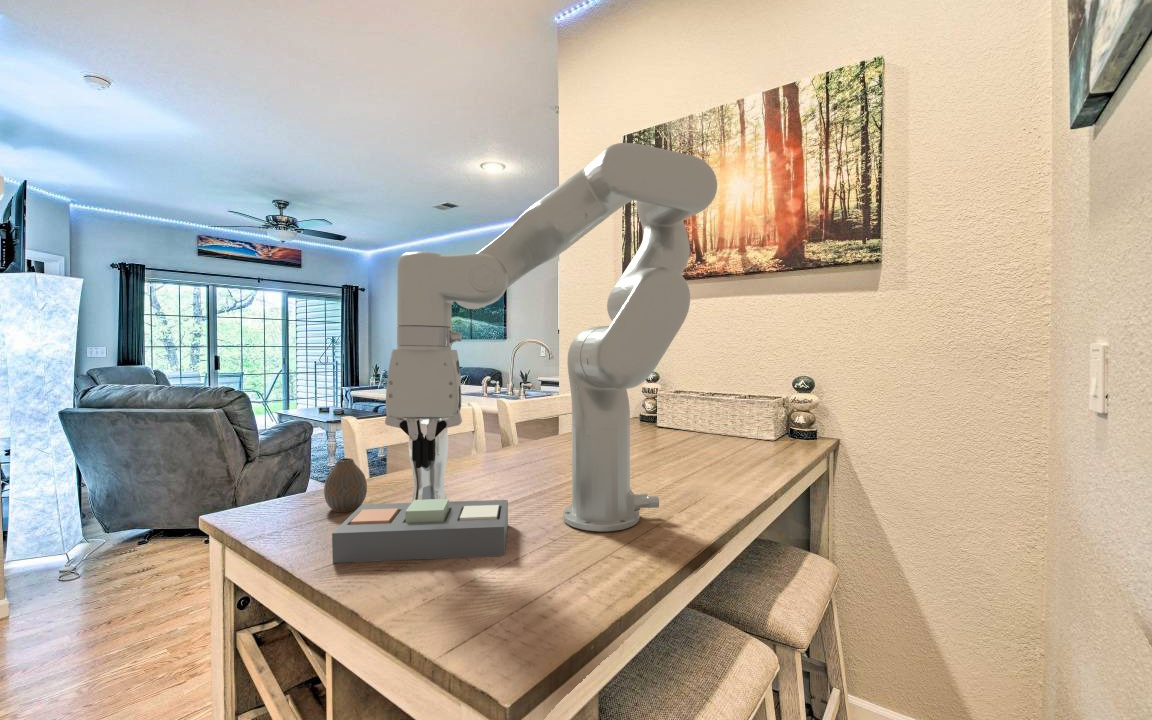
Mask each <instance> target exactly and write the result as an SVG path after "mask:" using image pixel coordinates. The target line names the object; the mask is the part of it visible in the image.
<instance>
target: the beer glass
mask: <svg viewBox="0 0 1152 720" xmlns="http://www.w3.org/2000/svg"><path fill="white" fill-rule="evenodd" d="M441 420H444V419H440V421H441ZM428 422H429V419H420V424H421V430H422V433H423V437H424V438H425V435H426V434H427V428H428ZM448 454H449V432H448V428H445V429H444V430H443V431H442V432H440V433H439V434H438V435H437V436H436V437H435V460H434V461H431V465H430V466H429V467H428V468H424V467H421V468H416V461H412V440H411V439H410V438H409V437H408V455H409V461H410V466H411V471H412V472H411V473H412V477H413V492H412V499H411V503H412V502H413V500H427V499H448V498H447V494H446V488H445V476H446V475H445V474H446V468H447V462H448Z"/></svg>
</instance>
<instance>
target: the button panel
mask: <svg viewBox="0 0 1152 720" xmlns="http://www.w3.org/2000/svg"><path fill="white" fill-rule="evenodd" d="M508 502H509V500H508V499H494V500H493V499H491V500H490V499H489V500H488V499H487V500H486V499H485V500H464V501H462V500H457V501H449V515H448V518H447V520H446V521H442V522H414V523H406V513H405V511H406V510H407V509H408V507H409V506H410V504H411V503H412V502H402V503H396V502H395V503H367V504H361V505H360V507H359V508H357V509H355V510H354V512H353V513H352V514H350V515H349V516H348V517H347V518H346V519H345V520H344V521H343V522H342V523H341V524H339V526H338V527H337V528H336V529H335V530H334V531H333V532H332V533H331V542H332V543H331V546H332V547H331V548H332V563H333V564H339V563H361V562H362V563H363V562H385V561H390V562H391V561H408V560H409V561H411V560H414V561H415V560H433V559H435V560H436V559H437V560H438V559H455V558H456V559H457V558H461V559H462V558H478V557H481V558H483V557H505V553H506V544H507V538H508V537H507V535H508V527H509V512H508V511H509V503H508ZM482 505H499V519H497V520H469V521H460V516H461V513H462V511H463V508H464V506H482ZM393 508H398V515H397V516H396V517H395V519H394V520H393V521H392V523H387V524H359V525H350V522H351V521H352V520H353V519H354V518H355V517H356V516H357V515H358V514H359V513H360V512H361V511H362V510H364V509H393Z"/></svg>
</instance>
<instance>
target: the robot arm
mask: <svg viewBox="0 0 1152 720" xmlns="http://www.w3.org/2000/svg"><path fill="white" fill-rule="evenodd" d="M717 180H718V179H717V176H716V174H715V171H714V170H713V168H712V167H711V166H710V165H709V164H708V163H707V162H706V161H705V160H704V159H701V158H699V157H697V156H695V155H691V154H689V153H688V154H687V153H684V152H678V151H673V150H669V149H665V148H659V147H654V146H650V145H646V144H640V143H632V142H631V143H630V142H620V143H619V142H618V143H614V144H611V145H610V146H608V147H607V148H606V149H604V150H602V152H601V153H600V154H598V155H597V156H596V157H595V158H594V159H593V160H592V161H591V162H589V163H588V164H587V165H584V167H583V168H581V169H580V170H578V171H577V172H576V173H575V174H574V175H572V176H571V177H570V178H568V179H566V180H565V181H564V182H562V184H560V185H558V186H557V187H556V188H554V189H553V190H552V191H550V192H549V193H548V194H546V195H544V196H543V197H542V198H540V199H539V200H537V201H536V202H534V203H533V204H532V205H531V206H530V207H528V208H527V209H526V210H525V211H524V212H523V213H522V214H521V215H520V216H519V217H518V218H517V219H516V220H515V221H514V222H513V223H512V224H511V225H510V226H509V227H507V229H506V230H505V231H503V232H502V233H501V234H500V235H499V236H498V237H496V238H495V239H494V240H492V241H491V242H490V243H488V245H486V246H484V247H483V248H482V249H481V250H479V251H478V252H476V253H464V254H463V253H462V254H441V253H436V252H429V251H409V252H405V253H403V254H401V255H400V256H399V258H398V261H397V273H396V274H397V278H396V279H397V284H396V285H397V288H396V289H397V291H396V292H397V295H396V296H397V300H396V301H397V303H396V304H397V306H396V307H397V309H396V310H397V311H396V312H397V315H396V317H397V318H396V319H397V321H396V322H397V325H396V326H397V327H396V341H397V342H396V345H397V346H396V348H392V351H391V354H390V360H389V365H388V370H387V371H388V372H387V381H386V388H385V389H386V391H385V392H386V393H385V411H386V417H385V420H384V423H385V425H386V426H390V427H394V428H397V429H398V428H399V429H401V431H403V432H404V433H405V434H406V435H407V436H408V439H409V438H410V439H411V440H412V461H416V468H421V467H424V468H428V467H429V466H430V465H431V461H434V460H435V437H436V436H437V435H438V434H439V433H440V432H442V431H443V430H444V429H445V428H447V429H450V428H453V427H457V426H460V425H461V424H462V423H463V419H462V414H461V409H462V383H461V382H462V381H461V370H460V369H461V366H460V360H459V355H458V350H457V349H452V346H453V345H454V343H456V342H457V343H458V342H462V332H460V331H459V332H458V331H454V330H453V328H452V313H453V312H452V310H453V309H452V304H453V302H456V304H457V305H459V306H460V307H462V308H465V309H468V310H479V309H482V308H485V307H488V306H489V305H492V304H494V303H496V302H498V301H499V300H500V299H501V298H502V297H503V295H504V294H505V292H506V291H507V288H509V287H511V285H513V284H514V283H516V282H517V281H519V280H520V279H521V278H523V277H524V276H526V275H527V274H528V273H530V272H532V271H533V270H535V269H536V268H538V267H539V266H541V265H543V264H546V263H547V262H550V261H551V260H553V259H555V258H556V257H558V256H559V255H561V254H562V253H563V252H565V251H566V250H568V249H569V248H570V247H572V246H573V245H574V244H576V243H577V242H578V241H579V240H581V239H582V238H584V237H585V236H586V235H588V233H590V232H591V231H592V230H594V229H595V228H596V227H597V226H599V225H600V224H601V223H603V222H604V221H605V220H606V219H608V218H609V217H610V216H611V215H613V214H614V213H615V212H617V211H618V210H620V208H622V207H624V206H626V205H627V204H629V203H631V202H633V201H636V211H637V216H638V219H639V221H640V225H641V229H642V241H641V243H640V246H639V248H638V249H637V251H636V252H635V255H634V256H633V258H632V260H631V261H630V262H629V264H628V265H627V267H626V268H625V270H624V271H623V273H622V275H620V278H619V279H618V280H617V282H616V283H615V285H614V286H613V288H612V289H611V291H610V293H609V295H608V297H607V303H606V310H607V314H608V316H609V319H610V320H611V323H610V324H609V325H601V326H592V327H589V328H586V329H584V330H582V331H581V332H579V333H578V334H577V335H576V336H575V337H574V339H572V341H571V344H570V346H569V348H568V353H567V358H566V359H567V362H566V363H567V373H568V374H567V375H568V380H569V381H568V382H569V387H570V398H571V483H572V484H571V492H572V493H571V504H570V505H567V506H566V507H565V508H564V509H563V511H562V520H563V521H564V523H565V524H567V525H569V526H570V527H572V528H575V529H578V530H582V531H589V532H597V533H598V532H599V533H600V532H604V533H605V532H615V531H622V530H627V529H629V528H631V527H633V526H635V525H637V524H638V522H639V521H640V511H641V509H643V508H644V509H646V508H648V509H659V508H660V498H659V496H658V495H648V493H636V494H635V493H634V492H633V491H632V489H631V460H630V459H631V457H630V456H631V443H630V442H631V427H630V426H631V411H630V410H631V409H630V408H631V407H630V400H629V394H628V390H629V389H634V388H635V387H638V386H640V385H641V384H643V383H644V382H646V380H648V378H649V377H650V376H651V374H652V373H653V372H654V371H655V369H656V368H657V366H659V365H658V364H659V363H660V362H661V360H662V358H663V357H664V355H665V354H666V352H667V350H668V349H669V347H670V346H671V344H672V342H673V341H674V339H675V337H676V335H678V333H679V331H680V330H681V327H682V326H683V324H684V323H685V320H686V318H687V316H688V314H689V311H690V305H691V293H690V291H691V290H690V286H689V284H688V283H687V280H686V279H685V278H684V277H683V275H682V274H683V273H684V271H685V269H686V267H687V265H688V262H689V259H690V255H691V249H690V248H691V247H690V240H689V237H688V232H687V227H686V225H685V223H684V220H685V219H688V218H690V217H693V216H694V215H697V214H699V213H701V212H703V211H704V210H706V209H707V208H708V207H709V206H710V205H711V204H712V203H713V201H714V199H715V198H716V195H717V191H718V181H717ZM420 419H429V422H428V428H427V434H426V435H425V438H424V437H423V433H422V430H421V424H420ZM440 419H444V420H441V421H440Z"/></svg>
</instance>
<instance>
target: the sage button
mask: <svg viewBox="0 0 1152 720" xmlns="http://www.w3.org/2000/svg"><path fill="white" fill-rule="evenodd" d="M449 502H450V498H447V499H427V500H413V502H412V501H411V502H410V503H411V504H410V506H409V507H408V509H407V510H406V511H405V513H406V523H414V522H442V521H446V520H447V518H448V515H449Z"/></svg>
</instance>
